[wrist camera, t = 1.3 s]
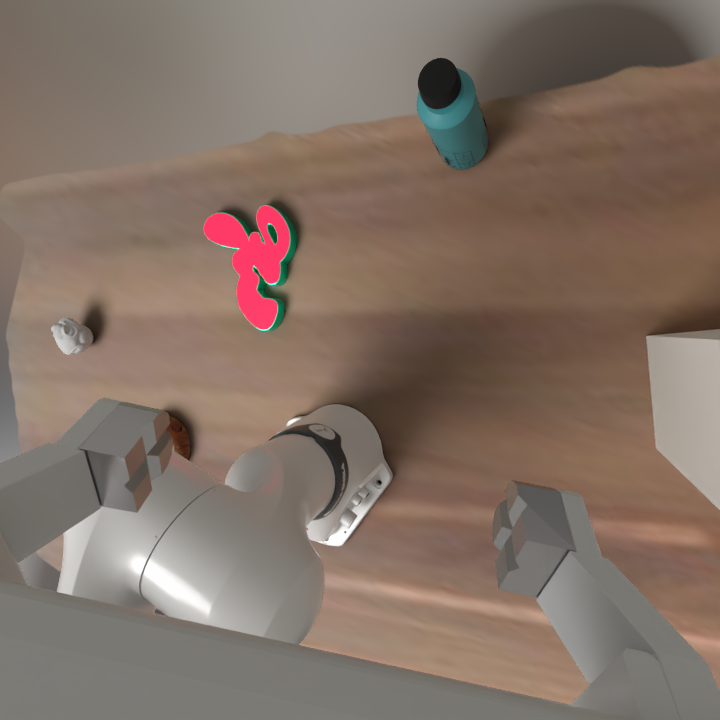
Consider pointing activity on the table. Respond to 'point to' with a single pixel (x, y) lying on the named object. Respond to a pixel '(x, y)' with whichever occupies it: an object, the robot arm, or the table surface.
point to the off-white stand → (688, 404)
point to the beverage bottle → (452, 113)
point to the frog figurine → (71, 336)
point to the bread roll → (179, 437)
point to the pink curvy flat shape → (256, 260)
